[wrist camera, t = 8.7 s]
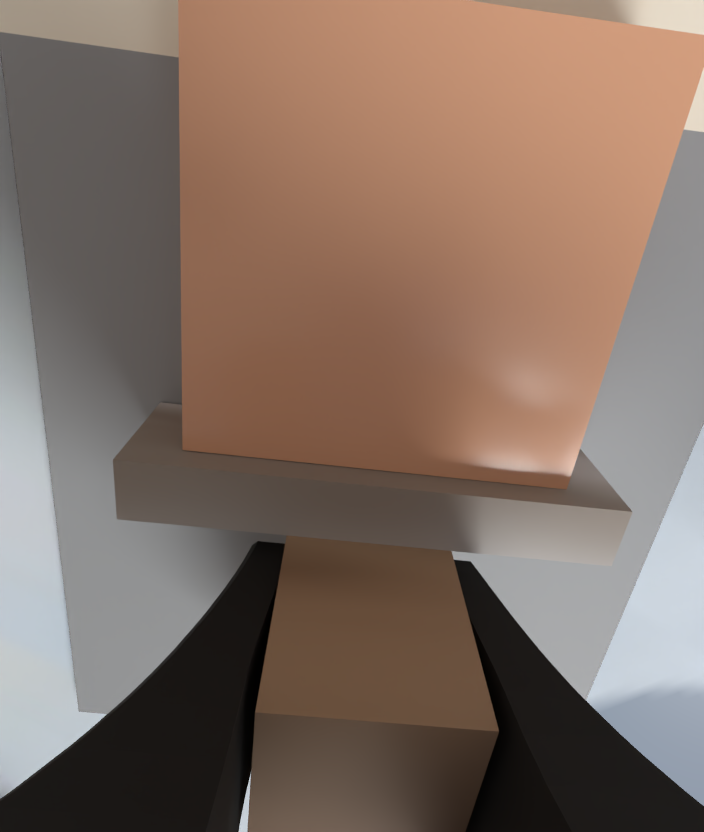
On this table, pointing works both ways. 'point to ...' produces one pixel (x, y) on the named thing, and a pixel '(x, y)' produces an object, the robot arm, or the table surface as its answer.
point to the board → (162, 354)
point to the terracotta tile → (414, 226)
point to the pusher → (367, 618)
